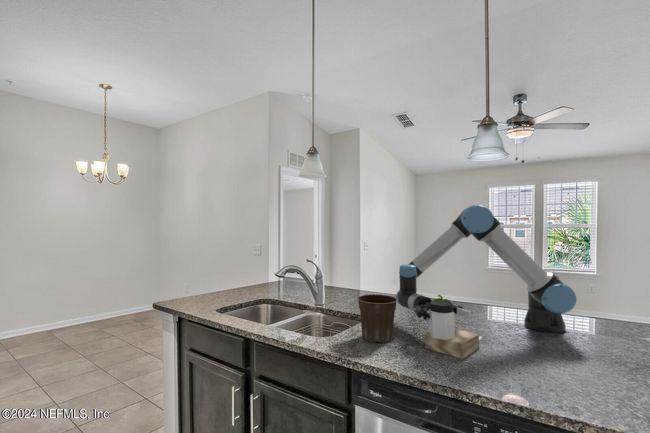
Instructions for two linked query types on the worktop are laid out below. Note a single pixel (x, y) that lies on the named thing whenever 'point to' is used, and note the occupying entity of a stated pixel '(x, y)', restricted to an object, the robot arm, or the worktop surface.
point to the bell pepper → (441, 299)
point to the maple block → (454, 344)
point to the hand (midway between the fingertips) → (454, 317)
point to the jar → (441, 320)
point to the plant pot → (377, 317)
